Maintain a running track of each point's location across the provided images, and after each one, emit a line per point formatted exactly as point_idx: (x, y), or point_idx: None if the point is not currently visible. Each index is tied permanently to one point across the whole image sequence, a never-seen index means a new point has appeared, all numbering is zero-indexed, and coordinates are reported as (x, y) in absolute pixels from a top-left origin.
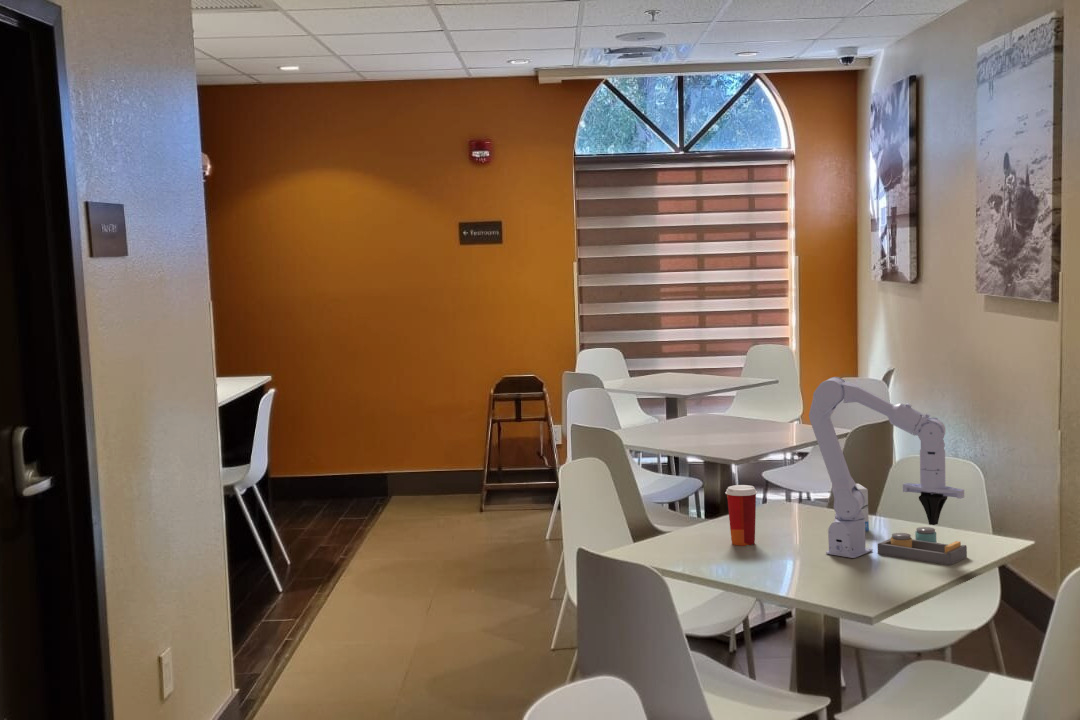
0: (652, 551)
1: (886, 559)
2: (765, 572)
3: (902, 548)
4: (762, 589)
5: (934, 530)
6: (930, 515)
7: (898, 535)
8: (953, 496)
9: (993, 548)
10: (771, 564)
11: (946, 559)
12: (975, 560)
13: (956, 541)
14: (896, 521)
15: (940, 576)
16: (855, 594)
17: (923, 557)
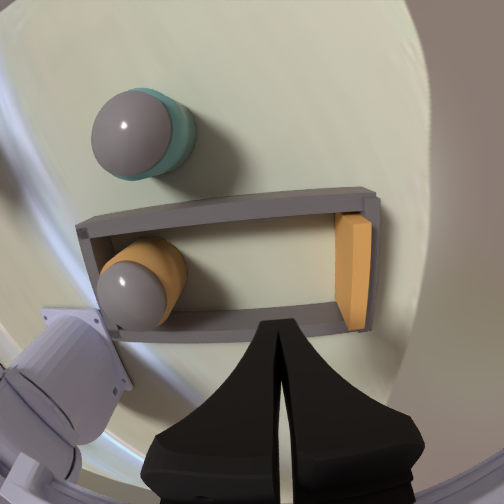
0: None
1: (181, 358)
2: (133, 467)
3: (192, 341)
4: None
5: (167, 118)
6: (279, 405)
7: (128, 313)
8: (478, 472)
9: (359, 18)
10: (100, 443)
11: None
12: (397, 205)
13: (356, 231)
14: (4, 15)
15: (368, 392)
16: (288, 486)
17: None
